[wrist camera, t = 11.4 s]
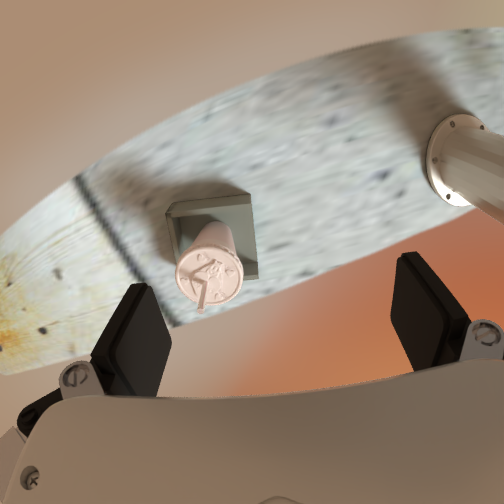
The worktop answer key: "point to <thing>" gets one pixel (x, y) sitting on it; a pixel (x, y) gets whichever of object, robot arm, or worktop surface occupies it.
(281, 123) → the worktop surface
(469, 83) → the worktop surface
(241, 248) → the bay
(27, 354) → the worktop surface
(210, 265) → the smoothie
